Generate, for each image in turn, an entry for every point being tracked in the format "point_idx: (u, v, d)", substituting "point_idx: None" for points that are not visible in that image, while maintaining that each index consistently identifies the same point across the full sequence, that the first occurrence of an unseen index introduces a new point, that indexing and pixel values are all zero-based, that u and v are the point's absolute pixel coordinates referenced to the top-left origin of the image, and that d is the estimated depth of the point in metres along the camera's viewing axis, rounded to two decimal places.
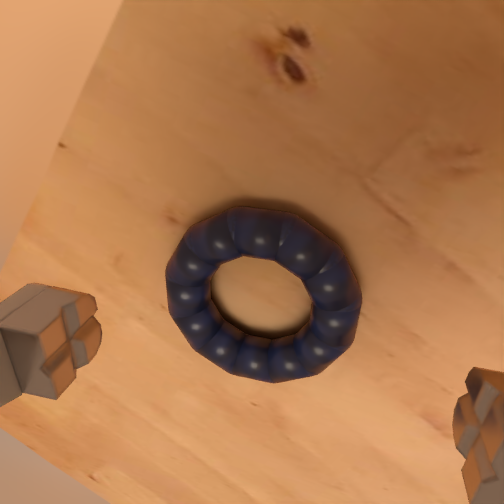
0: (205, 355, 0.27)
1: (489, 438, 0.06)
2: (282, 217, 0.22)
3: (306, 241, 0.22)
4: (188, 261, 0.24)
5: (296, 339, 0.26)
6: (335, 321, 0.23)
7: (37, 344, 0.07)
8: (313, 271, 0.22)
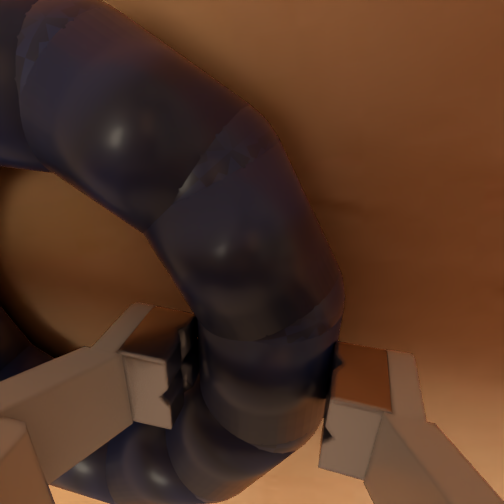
0: (52, 485, 0.11)
1: (328, 402, 0.07)
2: None
3: None
4: None
5: None
6: (201, 244, 0.06)
7: (161, 372, 0.07)
8: (3, 98, 0.06)
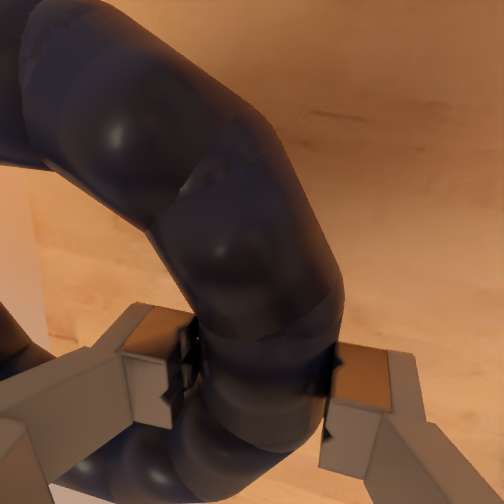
0: (53, 482, 0.11)
1: (328, 402, 0.07)
2: None
3: None
4: None
5: (199, 361, 0.09)
6: (201, 244, 0.06)
7: (161, 372, 0.07)
8: (6, 98, 0.06)
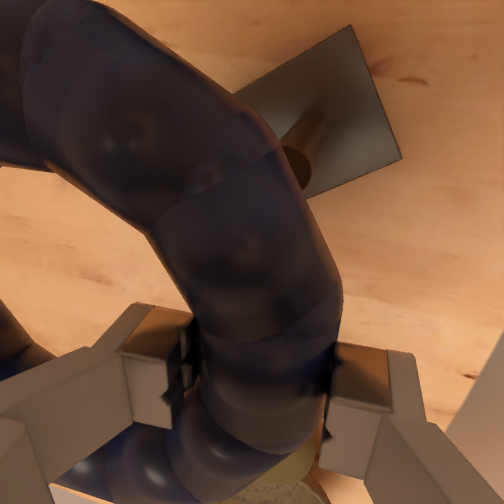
0: (53, 482, 0.11)
1: (328, 402, 0.07)
2: None
3: None
4: None
5: None
6: (200, 245, 0.06)
7: (161, 372, 0.07)
8: (7, 100, 0.06)
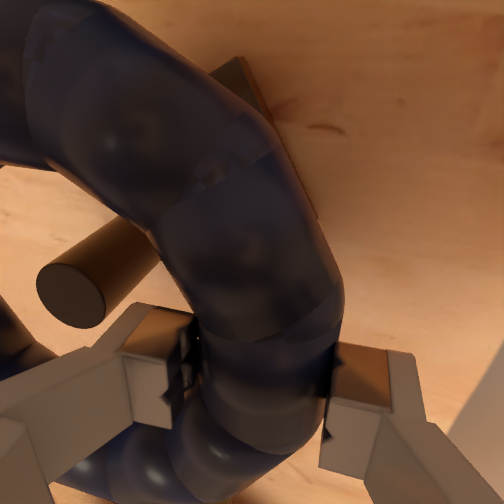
0: (53, 481, 0.11)
1: (328, 402, 0.07)
2: None
3: None
4: None
5: None
6: (201, 245, 0.06)
7: (161, 372, 0.07)
8: (10, 99, 0.06)
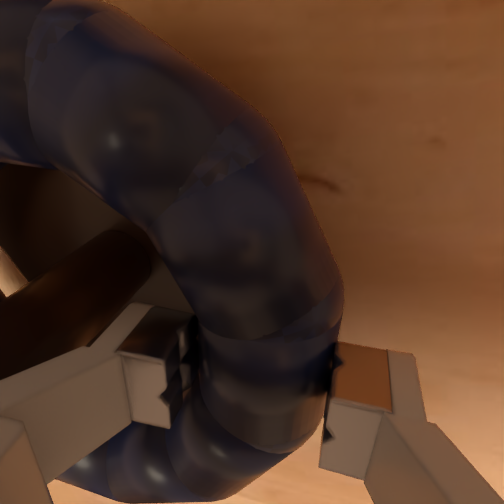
0: None
1: (328, 403, 0.07)
2: None
3: None
4: None
5: None
6: (200, 243, 0.06)
7: (159, 372, 0.07)
8: (12, 98, 0.06)
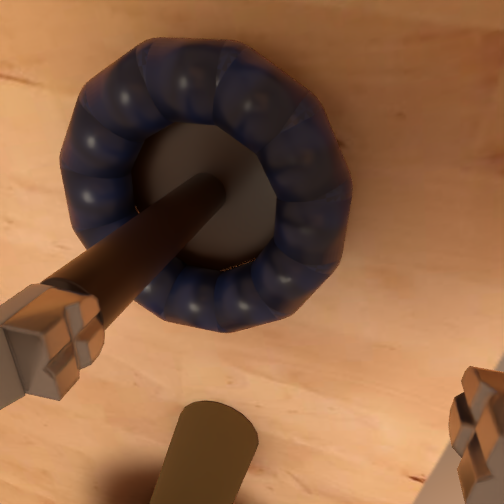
0: (177, 319, 0.19)
1: (484, 437, 0.06)
2: (137, 45, 0.14)
3: (177, 50, 0.14)
4: (72, 187, 0.17)
5: (274, 230, 0.16)
6: (290, 152, 0.14)
7: (40, 345, 0.07)
8: (208, 87, 0.13)
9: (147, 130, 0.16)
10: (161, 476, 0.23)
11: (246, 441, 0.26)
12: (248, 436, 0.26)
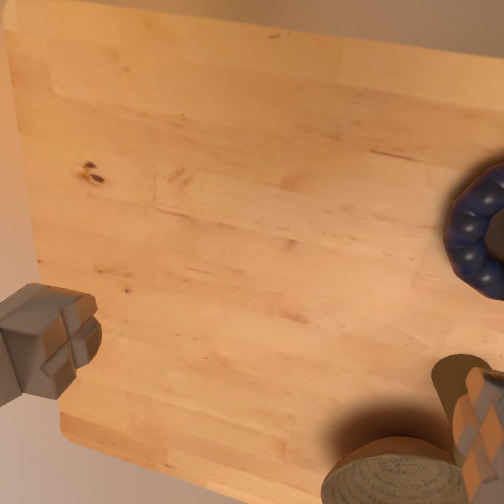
0: None
1: (489, 438, 0.06)
2: None
3: None
4: (470, 224, 0.30)
5: None
6: None
7: (37, 344, 0.07)
8: None
9: None
10: (455, 398, 0.37)
11: None
12: None
